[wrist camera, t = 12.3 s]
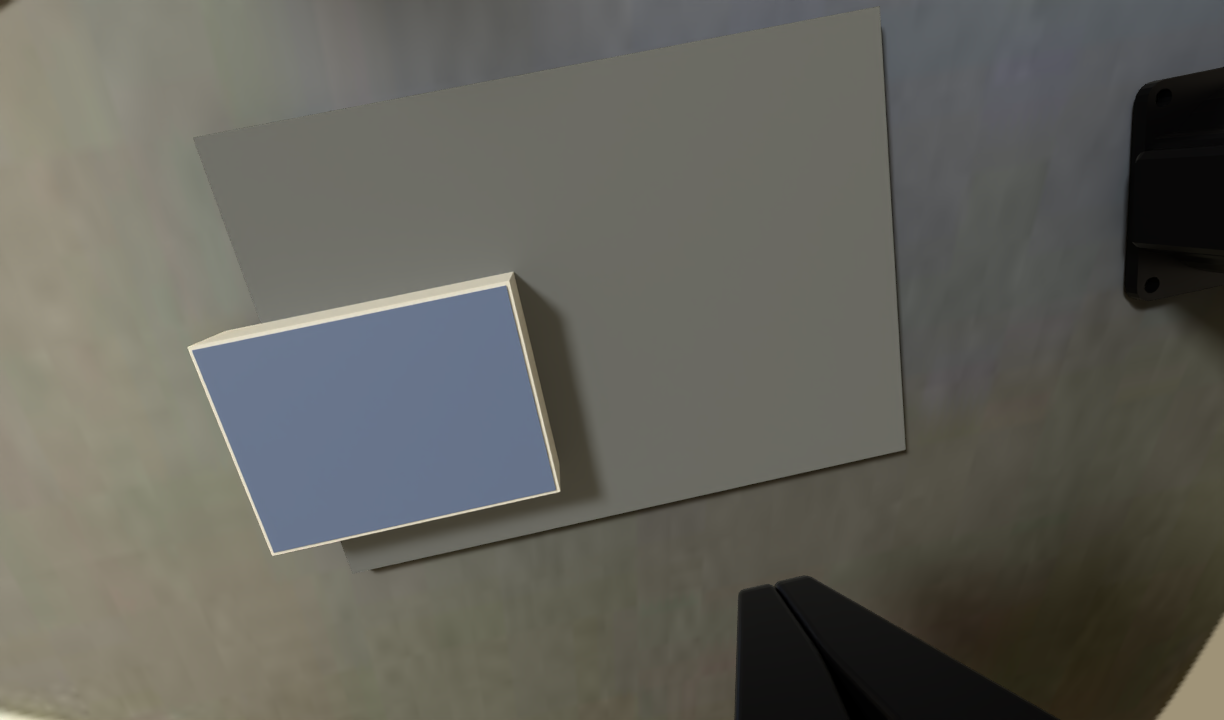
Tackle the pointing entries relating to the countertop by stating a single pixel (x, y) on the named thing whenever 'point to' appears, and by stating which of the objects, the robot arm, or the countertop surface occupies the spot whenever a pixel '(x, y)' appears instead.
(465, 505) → the card box
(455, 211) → the mat
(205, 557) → the countertop surface
